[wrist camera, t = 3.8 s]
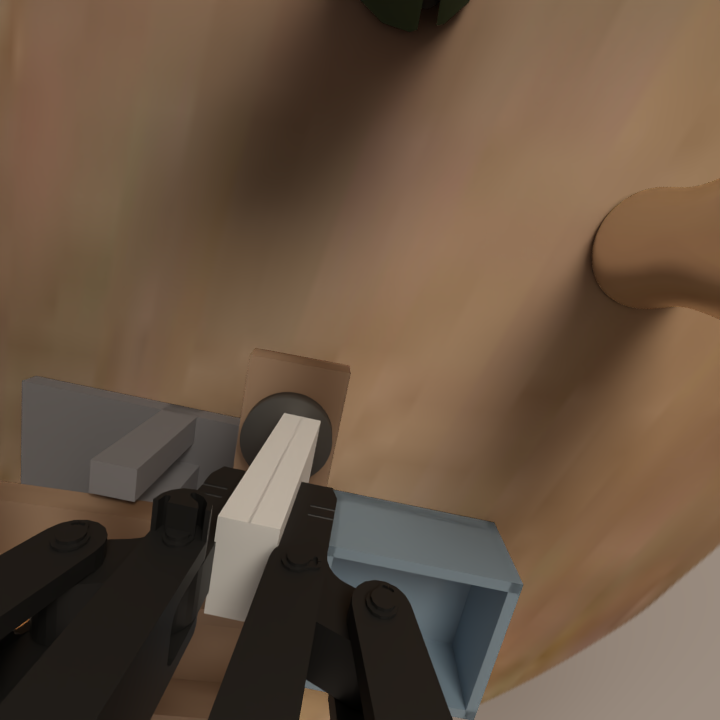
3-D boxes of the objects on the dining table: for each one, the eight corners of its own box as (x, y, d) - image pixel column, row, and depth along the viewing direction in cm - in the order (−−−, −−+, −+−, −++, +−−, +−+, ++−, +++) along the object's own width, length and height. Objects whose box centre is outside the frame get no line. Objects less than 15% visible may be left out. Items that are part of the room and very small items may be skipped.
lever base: (32, 597, 28) (-80, 706, 21) (36, 375, 24) (-99, 421, 17) (291, 647, 28) (265, 772, 21) (336, 438, 24) (321, 506, 17)
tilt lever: (-51, 644, 22) (-176, 771, 17) (-66, 276, 17) (-248, 286, 12) (280, 676, 24) (265, 798, 19) (347, 354, 19) (353, 393, 14)
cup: (307, 609, 27) (293, 685, 22) (333, 489, 25) (323, 544, 20) (455, 639, 27) (473, 720, 22) (494, 522, 25) (523, 584, 20)
